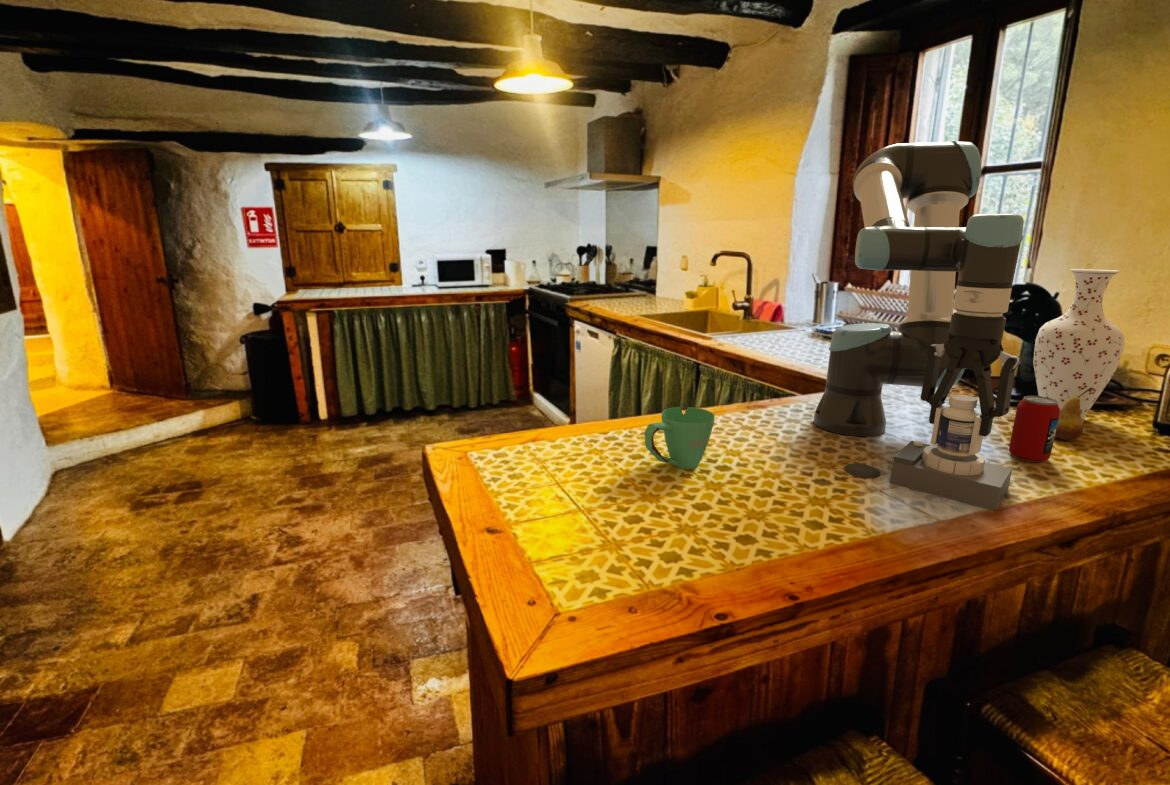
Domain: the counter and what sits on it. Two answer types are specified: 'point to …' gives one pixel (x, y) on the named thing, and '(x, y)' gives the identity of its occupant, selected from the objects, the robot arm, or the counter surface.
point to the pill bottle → (957, 426)
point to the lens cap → (862, 470)
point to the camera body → (950, 475)
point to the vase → (1079, 345)
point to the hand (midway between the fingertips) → (954, 447)
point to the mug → (682, 436)
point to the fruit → (1070, 420)
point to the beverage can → (1034, 428)
